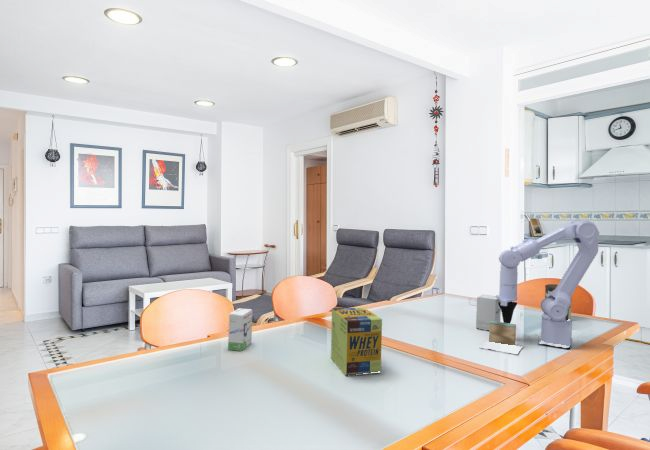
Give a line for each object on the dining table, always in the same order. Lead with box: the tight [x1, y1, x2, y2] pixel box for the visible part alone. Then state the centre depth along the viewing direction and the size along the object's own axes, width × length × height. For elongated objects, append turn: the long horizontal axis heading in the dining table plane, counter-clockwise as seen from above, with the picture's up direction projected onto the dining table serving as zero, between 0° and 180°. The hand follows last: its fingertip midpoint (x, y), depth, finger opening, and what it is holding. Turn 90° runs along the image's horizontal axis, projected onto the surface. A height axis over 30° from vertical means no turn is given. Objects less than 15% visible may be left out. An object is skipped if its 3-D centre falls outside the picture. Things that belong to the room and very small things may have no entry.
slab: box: [488, 321, 517, 345], centre depth 149 cm, size 8×3×7 cm, turn 57°
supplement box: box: [475, 294, 502, 331], centre depth 169 cm, size 7×7×13 cm
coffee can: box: [544, 283, 573, 320], centre depth 187 cm, size 10×10×14 cm
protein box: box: [330, 307, 383, 377], centre depth 127 cm, size 10×15×16 cm
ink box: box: [227, 307, 253, 352], centre depth 143 cm, size 9×5×12 cm, turn 168°
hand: (507, 322), depth 154 cm, fingers closed
